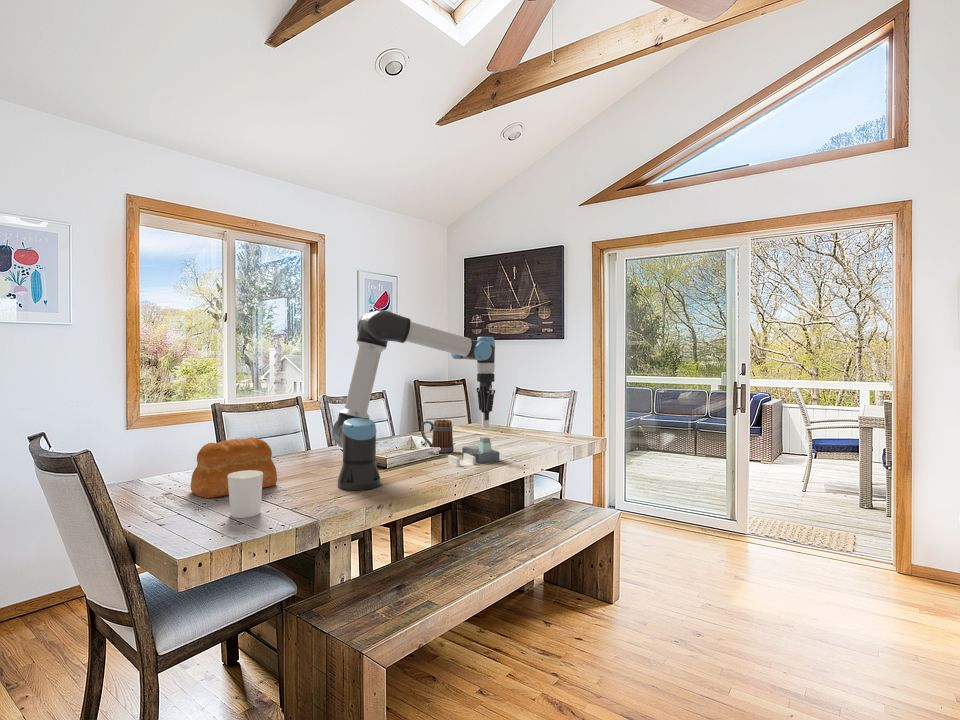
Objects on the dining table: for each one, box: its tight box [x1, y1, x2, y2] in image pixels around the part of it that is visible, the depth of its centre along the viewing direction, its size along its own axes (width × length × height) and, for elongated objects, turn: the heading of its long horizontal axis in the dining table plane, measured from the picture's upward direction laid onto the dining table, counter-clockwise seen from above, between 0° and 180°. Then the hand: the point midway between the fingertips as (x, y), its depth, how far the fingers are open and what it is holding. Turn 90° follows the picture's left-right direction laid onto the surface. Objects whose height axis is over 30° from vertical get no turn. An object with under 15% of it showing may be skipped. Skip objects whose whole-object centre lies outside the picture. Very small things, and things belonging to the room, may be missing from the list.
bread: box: [190, 437, 278, 499], centre depth 190 cm, size 16×26×17 cm, turn 139°
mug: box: [420, 419, 455, 456], centre depth 255 cm, size 16×11×15 cm
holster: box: [447, 453, 476, 467], centre depth 229 cm, size 9×9×4 cm
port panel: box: [461, 445, 500, 465], centre depth 238 cm, size 10×16×5 cm, turn 27°
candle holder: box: [227, 470, 263, 519], centre depth 162 cm, size 10×10×12 cm
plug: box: [478, 436, 492, 453], centre depth 234 cm, size 4×4×11 cm
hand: (485, 427), depth 234 cm, fingers closed
